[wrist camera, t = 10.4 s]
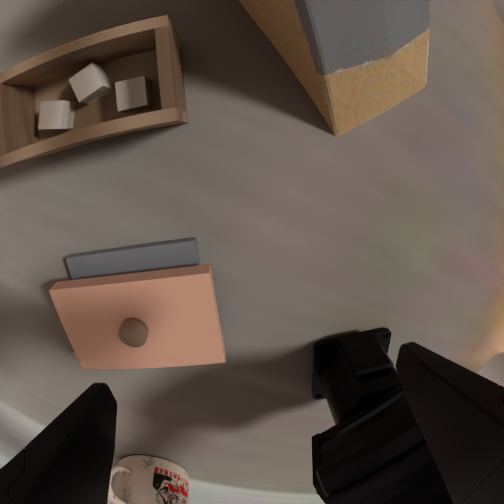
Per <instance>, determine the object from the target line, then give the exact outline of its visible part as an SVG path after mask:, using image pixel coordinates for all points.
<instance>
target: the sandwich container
mask: <svg viewBox="0 0 504 504" xmlns="http://www.w3.org/2000/svg"><path fill="white" fill-rule="evenodd" d="M238 1H239V2H240V3H241V4H242V6H243V7H244V8H245V10H246V11H247V12H248V14H249V15H250V16H251V18H252V19H253V20H254V21H255V22H256V24H257V25H258V26H259V27H260V29H261V30H262V31H263V32H264V34H265V35H266V36H267V38H268V39H269V40H270V41H271V43H272V44H273V45H274V47H275V48H276V49H277V51H278V52H279V53H280V55H281V56H282V57H283V59H284V60H285V61H286V63H287V64H288V66H289V67H290V68H291V70H292V71H293V73H294V74H295V75H296V77H297V78H298V80H299V81H300V83H301V84H302V86H303V87H304V89H305V90H306V91H307V93H308V94H309V96H310V97H311V99H312V101H313V102H314V104H315V105H316V107H317V108H318V110H319V111H320V113H321V114H322V116H323V118H324V119H325V121H326V122H327V124H328V126H329V127H330V129H331V130H332V132H333V134H334V135H335V136H336V137H338V136H341V135H343V134H345V133H346V132H348V131H350V130H352V129H354V128H356V127H358V126H359V125H361V124H363V123H365V122H367V121H369V120H371V119H373V118H375V117H376V116H378V115H380V114H382V113H384V112H386V111H388V110H389V109H391V108H393V107H394V106H396V105H397V104H399V103H401V102H402V101H404V100H405V99H407V98H409V97H410V96H412V95H413V94H415V93H417V92H418V91H420V90H422V89H423V88H425V86H426V79H427V66H428V49H429V24H430V0H238Z"/></svg>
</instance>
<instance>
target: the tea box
mask: <svg viewBox="0 0 504 504" xmlns="http://www.w3.org/2000/svg"><path fill="white" fill-rule="evenodd" d="M183 123H188V118H187V109H186V100H185V91H184V81H183V70H182V59H181V48H180V39H179V37H178V35H177V33H176V31H175V29H174V27H173V25H172V23H171V21H170V19H169V17H168V15H164V16H159V17H154V18H149V19H145V20H140V21H136V22H132V23H128V24H124V25H121V26H117V27H114V28H110V29H107V30H103V31H100V32H97V33H94V34H91V35H88V36H85V37H82V38H79V39H76V40H73V41H71V42H68V43H65V44H63V45H60V46H58V47H55V48H53V49H50V50H48V51H46V52H43V53H41V54H39V55H37V56H34V57H32V58H30V59H28V60H26V61H24V62H22V63H20V64H18V65H16V66H14V67H12V68H10V69H8V70H6V71H4V72H2V73H0V166H1V168H2V167H5V166H9V165H12V164H16V163H19V162H23V161H27V160H31V159H35V158H39V157H43V156H46V155H49V154H52V153H55V152H59V151H62V150H66V149H69V148H73V147H76V146H80V145H84V144H87V143H91V142H95V141H99V140H103V139H107V138H111V137H116V136H120V135H125V134H129V133H134V132H139V131H144V130H149V129H154V128H160V127H165V126H171V125H177V124H183Z"/></svg>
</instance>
